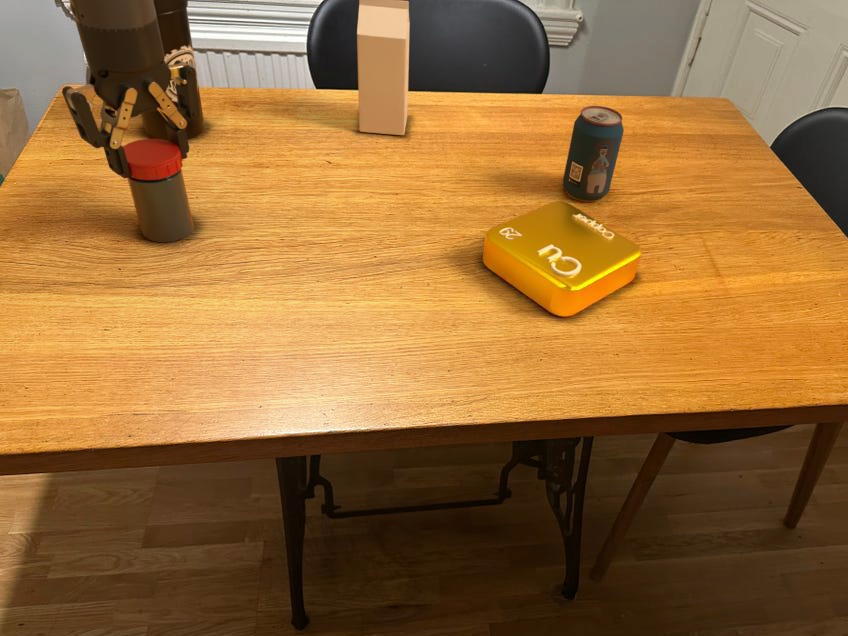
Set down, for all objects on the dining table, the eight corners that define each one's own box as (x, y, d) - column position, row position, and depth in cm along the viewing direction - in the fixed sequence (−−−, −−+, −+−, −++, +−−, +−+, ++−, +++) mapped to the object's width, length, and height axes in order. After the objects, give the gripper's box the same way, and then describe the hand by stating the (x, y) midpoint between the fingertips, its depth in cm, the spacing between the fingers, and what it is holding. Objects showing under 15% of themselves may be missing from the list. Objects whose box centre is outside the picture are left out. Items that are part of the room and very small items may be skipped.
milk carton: (404, 136, 111) (406, 9, 98) (359, 132, 110) (356, 4, 98) (407, 117, 116) (410, -6, 103) (364, 113, 116) (362, -11, 103)
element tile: (640, 277, 89) (650, 246, 85) (562, 323, 81) (570, 290, 77) (554, 224, 96) (561, 193, 93) (475, 261, 88) (478, 228, 85)
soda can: (581, 176, 107) (597, 99, 99) (616, 195, 104) (636, 117, 96) (551, 189, 103) (566, 110, 95) (587, 209, 100) (606, 130, 92)
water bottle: (173, 150, 101) (134, -24, 85) (123, 129, 104) (77, -43, 88) (225, 127, 108) (198, -39, 92) (177, 107, 111) (143, -56, 95)
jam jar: (135, 240, 84) (114, 168, 78) (151, 214, 89) (132, 143, 82) (186, 244, 85) (169, 172, 78) (199, 218, 89) (185, 147, 83)
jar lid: (183, 177, 80) (180, 162, 78) (121, 182, 78) (117, 166, 77) (181, 151, 84) (178, 136, 83) (122, 155, 82) (118, 140, 81)
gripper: (61, 38, 64) (110, 199, 75) (200, 11, 72) (225, 159, 84) (22, 15, 67) (75, 172, 78) (160, -9, 76) (189, 137, 87)
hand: (152, 165), depth 81 cm, fingers closed on jar lid, 6 cm apart
